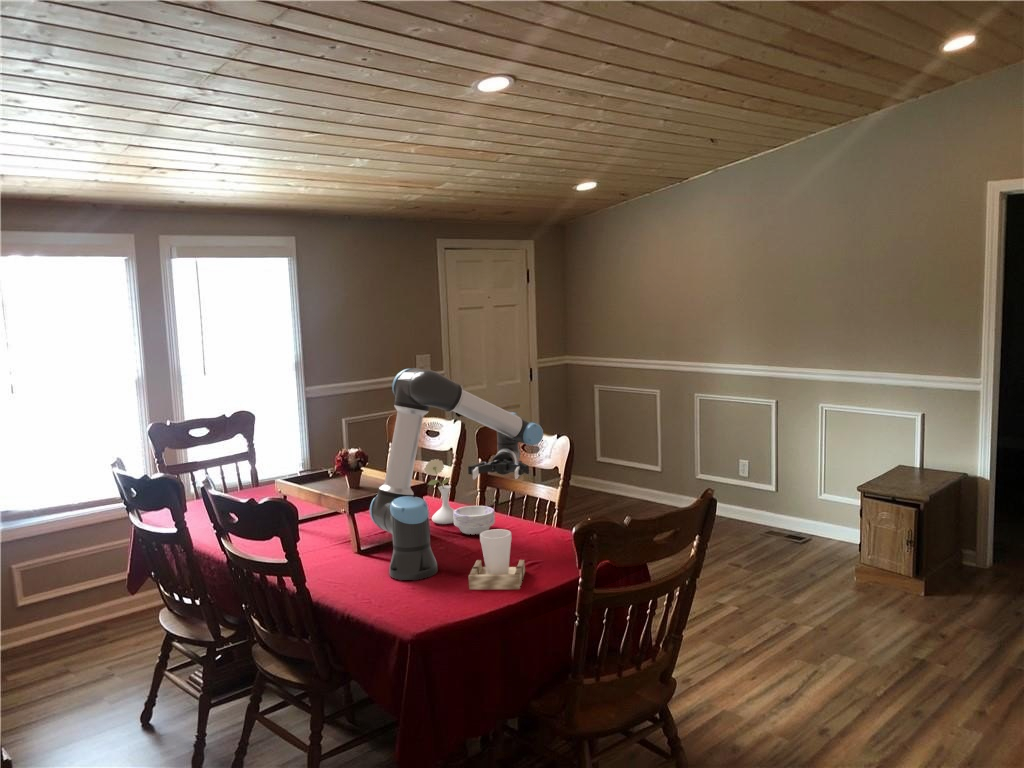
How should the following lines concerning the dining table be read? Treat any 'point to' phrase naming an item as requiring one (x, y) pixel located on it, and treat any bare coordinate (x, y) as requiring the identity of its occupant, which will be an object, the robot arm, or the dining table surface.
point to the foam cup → (496, 550)
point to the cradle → (496, 577)
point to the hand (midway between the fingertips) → (494, 475)
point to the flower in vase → (445, 511)
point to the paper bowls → (474, 519)
